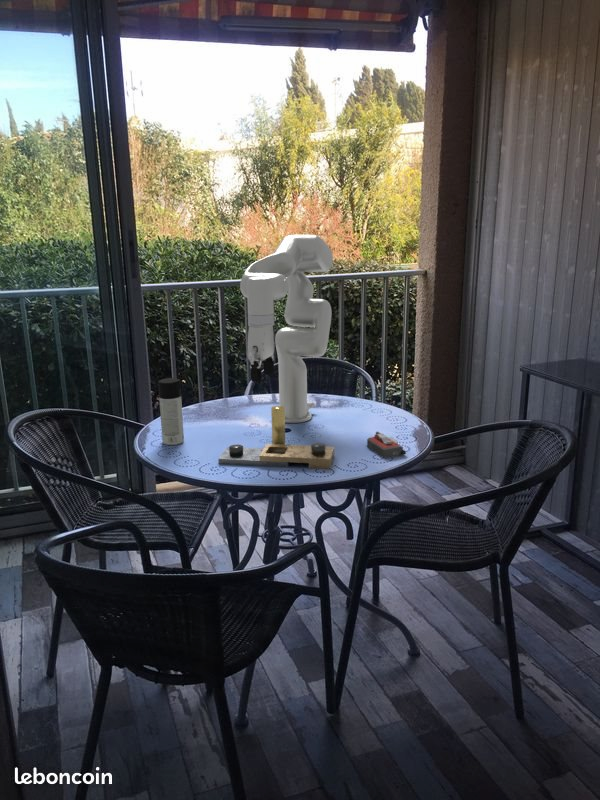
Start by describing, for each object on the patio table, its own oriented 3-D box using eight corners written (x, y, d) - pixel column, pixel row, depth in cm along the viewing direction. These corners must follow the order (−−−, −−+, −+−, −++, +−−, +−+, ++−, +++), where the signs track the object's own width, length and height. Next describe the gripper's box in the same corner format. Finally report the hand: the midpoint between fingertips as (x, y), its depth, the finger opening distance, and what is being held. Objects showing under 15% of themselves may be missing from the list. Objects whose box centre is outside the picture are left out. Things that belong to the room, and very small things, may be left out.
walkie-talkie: (412, 456, 194) (379, 436, 212) (412, 442, 193) (379, 422, 211) (385, 460, 191) (354, 439, 209) (386, 446, 190) (354, 426, 208)
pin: (278, 441, 207) (277, 404, 204) (287, 444, 205) (287, 407, 201) (269, 445, 204) (268, 407, 201) (279, 448, 202) (278, 410, 198)
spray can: (188, 441, 209) (184, 379, 203) (173, 447, 203) (168, 384, 198) (173, 437, 212) (169, 376, 207) (157, 443, 207) (153, 381, 202)
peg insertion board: (227, 451, 199) (227, 435, 198) (334, 456, 194) (334, 440, 193) (218, 463, 190) (217, 447, 188) (330, 469, 185) (330, 452, 183)
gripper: (260, 314, 201) (262, 369, 206) (236, 324, 186) (239, 383, 190) (283, 315, 199) (284, 371, 204) (261, 325, 183) (263, 385, 188)
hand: (262, 377), depth 197 cm, fingers open, 9 cm apart
